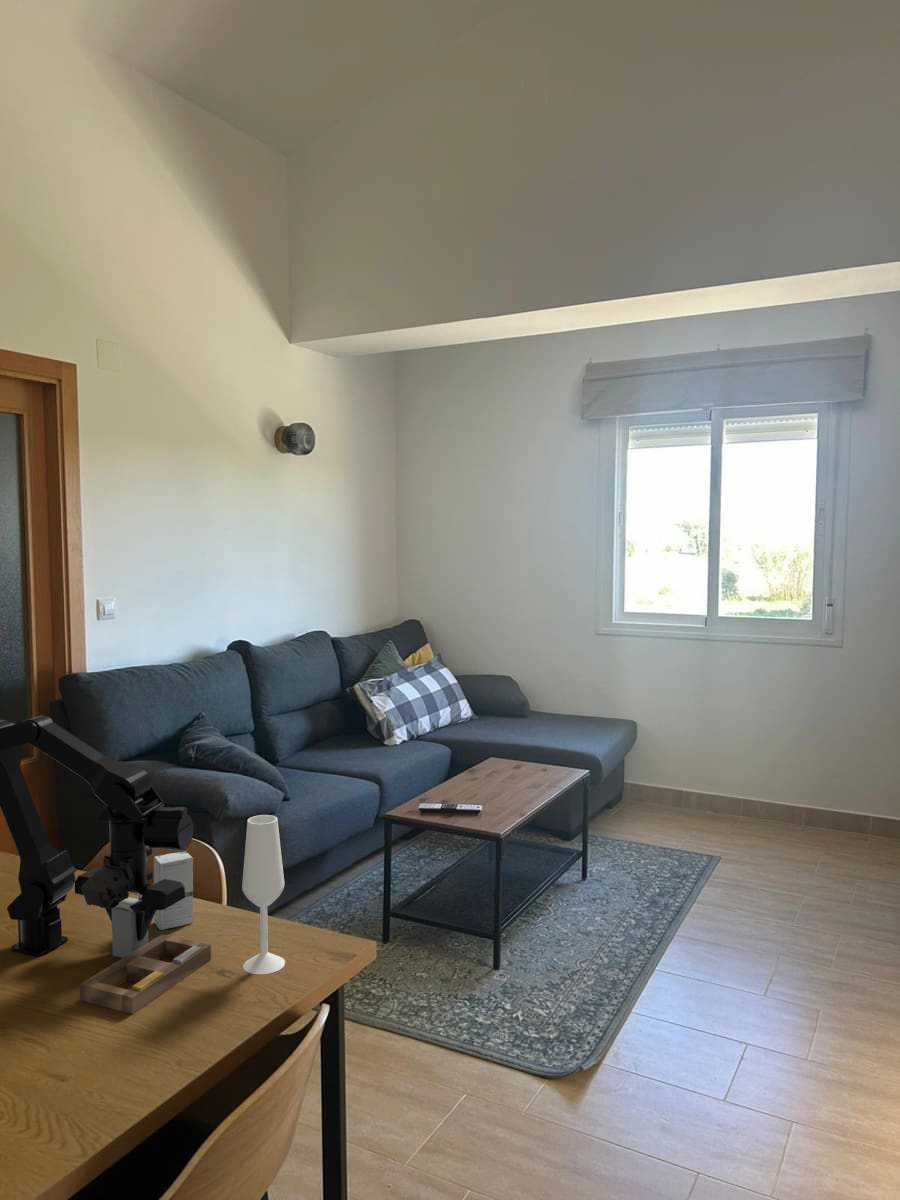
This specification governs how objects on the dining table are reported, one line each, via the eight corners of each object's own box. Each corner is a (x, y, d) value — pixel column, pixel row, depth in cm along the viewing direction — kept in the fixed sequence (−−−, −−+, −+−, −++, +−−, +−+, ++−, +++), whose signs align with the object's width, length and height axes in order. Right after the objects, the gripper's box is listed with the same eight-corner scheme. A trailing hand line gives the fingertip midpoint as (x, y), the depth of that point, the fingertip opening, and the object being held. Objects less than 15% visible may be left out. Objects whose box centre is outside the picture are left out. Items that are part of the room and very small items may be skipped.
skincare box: (160, 931, 154) (158, 864, 153) (153, 922, 158) (151, 856, 157) (194, 923, 158) (193, 857, 157) (187, 914, 161) (186, 849, 161)
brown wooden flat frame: (80, 1000, 131) (79, 981, 131) (162, 948, 148) (161, 932, 147) (132, 1014, 127) (132, 994, 127) (211, 959, 144) (210, 942, 144)
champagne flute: (293, 963, 143) (292, 818, 141) (260, 978, 138) (258, 829, 136) (267, 950, 147) (265, 810, 145) (234, 965, 142) (232, 820, 140)
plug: (112, 955, 145) (111, 903, 145) (129, 945, 149) (128, 894, 148) (131, 959, 144) (130, 907, 143) (148, 949, 147) (147, 898, 147)
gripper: (46, 854, 141) (49, 948, 142) (138, 871, 134) (140, 969, 135) (98, 833, 151) (100, 920, 153) (186, 847, 144) (188, 939, 146)
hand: (130, 937), depth 146 cm, fingers closed on plug, 4 cm apart
